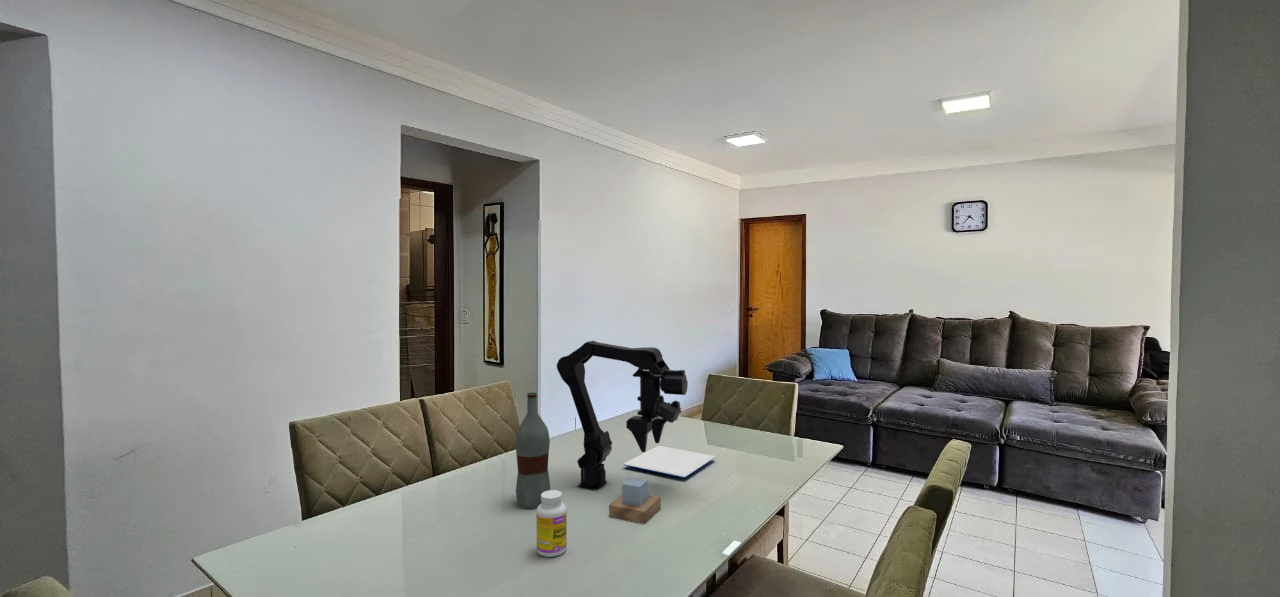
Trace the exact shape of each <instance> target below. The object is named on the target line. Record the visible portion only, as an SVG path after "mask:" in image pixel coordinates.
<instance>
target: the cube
mask: <svg viewBox="0 0 1280 597" xmlns="http://www.w3.org/2000/svg"><path fill="white" fill-rule="evenodd" d="M621 486H622V488H621V489H622V490H621V496H622V503H625V504H630V505H635V506H641V505H642V504H643V503H644V502H646V501H647V500H648V495H649V480H647V479H641V478H636V477H630V478H628V479H626V481H625V482H623V483H622V485H621Z"/></svg>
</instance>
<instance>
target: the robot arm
mask: <svg viewBox="0 0 1280 597" xmlns="http://www.w3.org/2000/svg"><path fill="white" fill-rule="evenodd" d="M592 357H598V358H604V359H607V360H608V359H609V360H615V361H620V362H624V363H625V362H626V363H628V364H630V365H632V366H634V367H636V368H637V370H636V371H635V372H634V373H632V377H634V378H639V389H640V390H639V391H640V392H639V396H637V401H639V407H640V408H639V410H638V411H637V415H633V416H631V417H629V418H628V419H627V420H626V429H627V430H628V431H629V432H631V434H632V436H633V438H634V439H635V441H636V443H637V445H638V447H639V449H640V452H641V453H645V452H647V451H646V450H647V444H648V438H649V437H648V436H649V435H648V434H649V433H651V432H652V437H653V440H654V442H655V444H660V442H661V437H662V435H663V431H664V428H665V424H666V423H667V422H668V423H671V424H672V423H674V422H675V421H677V420H678V418H679V415H680V414H682V408H681V403H680V401H677V400H674V401H671V402H666V401H665V397H664V395H662V394H661V392H663V393H664V394H666V395H679V396H685V395H686V394H687V393H688V392H687V391H688V387H689V386H688V381H689V380H687V379H688V378H687V375H686V370H685V369H679V370H677V369H675V370H674V369H670V367H669V366H668V364H667V363H666V361H665V360H664V359H663V354H662V352H661V350H660V349H659V348H657V347H652V346H651V347H650V346H649V347H627V346H622V345H616V344H609V343H604V342H598V341H596V340H589V341H586V342H584V343H583V345H581V346H580V347H579V348H577V349H576V350H574V351H572V352H571V353H569V354H567V355H565V356H561V357H560V358H559V359H558V361H557V363H556V370H557V373H558V374H559V376H560V378H561V380H562V381H563V382H564V383H565V384H566V385H567V386H568V388H569V390H570V394H571V397H572V399H573V400H572V401H573V402H574V403H573V404H574V405H575V409H576V412H577V414H578V418H579V421H580V424H581V427H582V430H583V431H582V432H583V450H584V451H583V452H584V454H583V455H581V457H579V459H577V461H576V462H577V465H578V468H579V469H580V483H578V484H577V487H579V488H583V489H589V490H595V491H596V490H599V489H600V488H602V487H603V486H604V485H606V484H607V483H608V481H607V480H606V477H607V476H606V469H605V463H603V462H605V461H606V459H607V457H608V456H609V455H610V454H611V452H612V451H613V450H612V445H613V441H612V440H611V437H610V436H611V435H610V433H609V431H608V430H606V431H604V430H602V429H601V426H600V424H599V421H598V418H597V416H596V412H595V410H594V406H593V404H592V401H591V397H590V395H589V391H588V389H587V386H586V381H585V380H586V379H585V378H586V368H585V367H586V366H585V364H586V363H587V362H589V361H590V360H591V358H592Z"/></svg>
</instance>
